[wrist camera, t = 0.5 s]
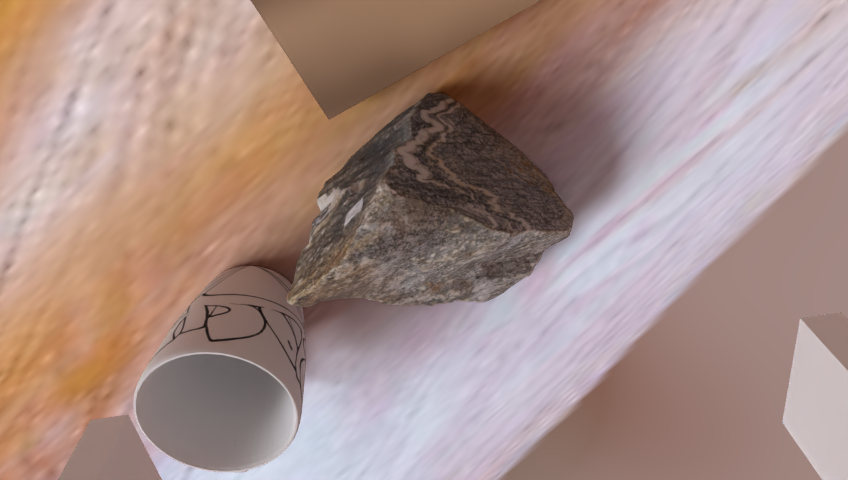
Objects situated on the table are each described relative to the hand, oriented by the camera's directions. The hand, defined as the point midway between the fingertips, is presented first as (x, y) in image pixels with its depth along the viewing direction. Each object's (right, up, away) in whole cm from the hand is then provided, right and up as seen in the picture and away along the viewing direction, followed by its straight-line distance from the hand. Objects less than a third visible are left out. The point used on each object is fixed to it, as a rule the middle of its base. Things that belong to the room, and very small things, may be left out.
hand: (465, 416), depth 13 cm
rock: (0, +6, +26) cm, 27 cm away
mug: (-12, -2, +30) cm, 32 cm away
